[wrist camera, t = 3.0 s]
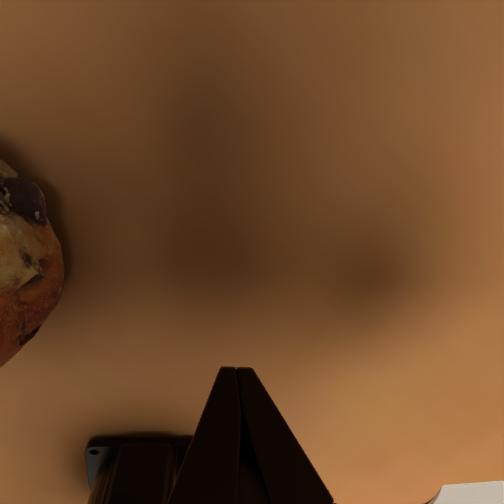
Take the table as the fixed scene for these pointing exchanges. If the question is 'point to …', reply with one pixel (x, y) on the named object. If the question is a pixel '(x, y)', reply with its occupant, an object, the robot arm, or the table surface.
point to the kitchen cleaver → (471, 493)
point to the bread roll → (25, 262)
